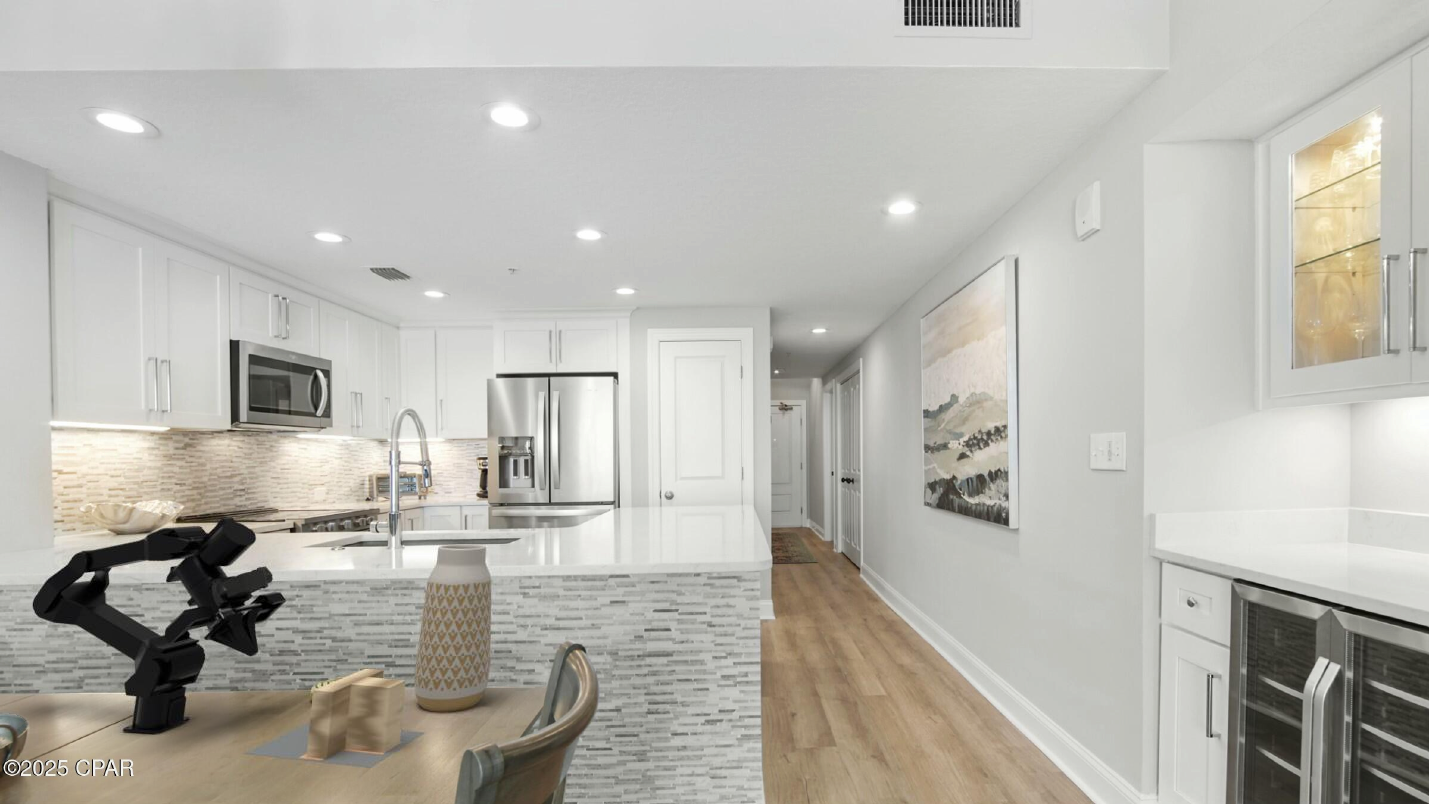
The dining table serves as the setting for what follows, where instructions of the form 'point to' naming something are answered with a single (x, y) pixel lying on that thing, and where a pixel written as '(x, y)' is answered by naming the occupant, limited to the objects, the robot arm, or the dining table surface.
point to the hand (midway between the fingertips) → (254, 654)
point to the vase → (455, 631)
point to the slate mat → (297, 744)
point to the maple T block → (356, 715)
